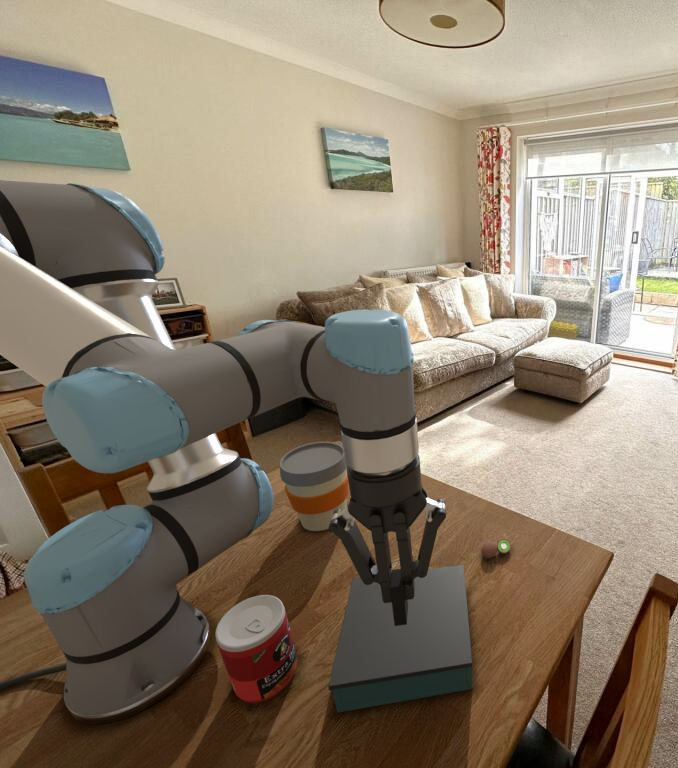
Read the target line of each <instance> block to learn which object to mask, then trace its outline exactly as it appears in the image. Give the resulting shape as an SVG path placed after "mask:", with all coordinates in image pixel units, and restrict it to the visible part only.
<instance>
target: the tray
mask: <svg viewBox="0 0 678 768" xmlns="http://www.w3.org/2000/svg"><path fill="white" fill-rule="evenodd" d="M469 690H473V666H472V667H468V668H462V669H456V670H450V671H444V672H438V673H432V674H426V675H419V676H413V677H407V678H401V679H395V680H389V681H383V682H377V683H371V684H365V685H359V686H353V687H347V688H341V689H335V690H331V691H332V695H333V699H334V703H335V709H336V712H337V713H343V712H344V713H345V712H349V711H355V710H360V709H367V708H371V707H377V706H383V705H390V704H396V703H400V702H405V701H407V702H408V701H413V700H417V699H424V698H430V697H434V696H435V697H436V696H441V695H447V694H452V693H458V692H463V691H464V692H465V691H469Z"/></svg>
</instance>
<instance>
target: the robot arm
mask: <svg viewBox="0 0 678 768" xmlns="http://www.w3.org/2000/svg"><path fill="white" fill-rule="evenodd" d="M164 250H165V249H164V246H163V242H162V239H161V236H160V235H159V233H158V231H157V228H156V227H155V226H154V224H153V223H152V221H151V219H150V218H149V216H148V215H147V214H146V213H145V212H144V210H142V208H140V207H139V206H138V204H137V203H135V202H134V201H133V200H132V199H130V198H127V197H126V196H125V195H123V194H122V193H120V192H118V191H115V190H113V189H111V188H105V187H94V186H87V185H84V184H78V183H71V182H70V183H69V182H68V183H66V184H64V183H49V182H48V183H47V182H34V181H33V182H32V181H21V180H19V181H17V180H2V179H0V356H1V357H3V358H4V359H5V360H7V361H9V362H10V363H11V364H13V365H15V367H17V368H18V369H20V370H21V371H23V372H24V373H26V374H27V375H28V376H30V377H31V378H33V379H34V380H35V381H37V382H39V383H40V384H41V385H43V386H44V387H45V388H44V390H43V393H42V399H41V404H42V410H43V413H44V416H45V419H46V422H47V424H48V425H49V428H50V429H51V431H52V433H53V435H54V437H55V438H56V440H57V441H58V442H59V444H60V445H61V446H62V447H63V448H64V449H66V450H67V452H68V453H69V454H70V456H71V458H72V459H73V460H74V461H75V462H76V463H78V464H79V465H80V466H81V467H83V468H85V469H87V470H89V471H91V472H95V473H99V474H116V473H119V472H123V471H125V470H128V469H131V468H134V467H135V466H137V467H138V466H139V465H142V464H145V463H148V465H149V467H150V469H151V470H152V473H153V476H152V478H151V479H150V481H149V483H148V485H147V487H146V491H147V493H148V495H149V496H150V499H151V501H152V502H151V503H148V504H147V505H145V506H144V507H142V506H140V505H137V504H121V505H114V506H111V507H110V508H109V509H107V510H105V509H99V510H97V511H94V512H92V513H90V514H89V513H88V514H86V515H85V516H83V517H81V518H78V519H76V520H75V521H73V522H71V523H69V524H68V525H65V526H64V527H63V528H61V529H59V530H58V531H57V532H55V533H54V534H53V535H51V536H49V538H47V539H46V540H45V541H44V542H43V543H42V544H40V546H39V547H38V548H37V549H36V550H35V551H34V554H33V555H32V556H31V558H30V559H28V561H27V564H26V565H25V568H24V573H23V579H24V583H25V586H26V590H27V592H28V594H29V597H30V603H31V605H32V607H33V608H34V609H35V610H36V611H37V612H38V613H40V615H41V617H42V619H43V620H44V622H45V623H46V625H47V627H48V629H49V631H50V632H51V634H52V636H53V638H54V639H55V641H56V643H57V645H58V647H59V648H60V650H61V652H62V653H63V655H64V657H65V659H66V661H65V663H62V664H58V665H55V666H50V667H46V668H43V669H39V670H35V671H31V672H29V673H25V674H22V675H19V676H16V677H12V678H9V679H6V680H3V681H0V690H1V689H4V688H8V687H10V686H13V685H17V684H20V683H23V682H26V681H30V680H33V679H37V678H40V677H44V676H49V675H52V674H56V673H60V672H64V671H66V678H65V679H66V680H65V683H64V687H63V688H64V689H63V701H64V704H65V706H66V708H67V710H68V711H69V713H70V715H71V716H72V717H73V718H74V719H75V720H76V721H78V722H80V723H83V724H87V725H103V724H109V723H113V722H118V721H120V720H124V719H127V718H129V717H131V716H134V715H136V714H138V713H140V712H142V711H144V710H146V709H148V708H150V707H151V706H153V705H155V704H156V703H158V702H160V701H161V700H162V699H164V698H165V697H166V696H168V695H169V694H171V693H172V692H173V691H175V690H176V689H177V688H178V687H179V686H180V685H181V684H183V682H184V681H185V680H187V679H188V677H189V676H190V675H191V674H193V672H194V671H195V670H196V669H197V667H198V666H199V664H201V662H202V660H203V658H204V657H205V655H206V653H207V651H208V648H209V647H210V643H211V635H212V633H211V628H210V624H209V621H208V619H207V617H206V615H205V614H204V613H203V612H202V611H201V610H199V609H198V608H197V607H195V606H194V605H192V604H191V602H189V601H188V600H186V599H185V598H184V597H182V596H181V595H180V592H179V590H178V587H177V584H179V583H180V582H182V581H183V580H185V579H186V578H188V577H189V576H191V575H192V574H194V573H195V572H197V571H198V570H199V569H201V568H202V567H204V566H205V565H206V564H208V563H210V562H211V561H213V560H214V559H215V558H217V557H219V556H220V555H222V554H223V553H224V552H226V551H227V550H229V549H230V548H232V547H233V546H235V545H236V544H238V543H239V542H241V541H243V540H245V539H247V538H248V537H250V536H251V535H252V534H253V533H254V532H255V531H256V530H257V529H258V528H260V527H261V526H262V525H263V524H265V523H266V522H267V521H268V520H269V518H270V517H271V514H272V512H273V509H274V504H275V499H274V491H273V487H272V483H271V482H270V479H269V477H268V475H267V474H266V472H265V471H264V470H261V467H260V465H259V464H258V463H256V462H255V461H254V460H252V459H249V458H245V457H244V458H241V457H240V454H239V453H238V452H237V451H235V450H231V449H228V448H225V447H223V446H222V444H221V442H220V440H219V437H218V435H217V433H219V432H222V431H223V430H226V429H229V428H230V427H233V426H235V425H237V424H240V423H241V422H243V421H246V420H248V419H252V418H254V417H256V416H259V415H261V414H263V413H266V412H268V411H270V410H273V409H276V408H278V407H280V406H282V405H284V404H286V403H289V402H291V401H293V400H296V399H299V398H308V399H313V400H318V401H323V402H327V403H334V404H335V406H336V410H337V414H338V415H337V416H338V424H339V430H340V434H341V441H342V442H341V443H342V446H343V450H344V458H345V462H346V464H347V476H348V482H349V494H350V495H349V496H350V498H349V503H348V505H347V507H346V508H345V509H343V510H342V509H336V510H335V511H334V513H333V516H332V518H331V521H330V524H329V529H328V530H329V531H330V533H333V534H334V535H335V536H336V537H337V538H338V539H339V540H340V541H341V543H342V545H343V547H344V548H345V550H346V553H347V554H348V556H349V558H350V560H351V562H352V564H353V566H354V568H355V570H356V572H357V573H358V577H360V578H361V579H362V581H363V583H364V584H366V585H370V584H372V583H373V582H376V583H379V584H380V586H381V593H382V600H383V602H384V603H391V602H392V609H393V617H394V625H395V626H399V625H406V624H407V615H408V600H411V599H413V598H414V593H415V584H414V579H415V578H416V577H419V578H424V577H425V576H426V575H427V572H428V569H430V568H429V567H430V563H431V559H432V555H433V551H434V548H435V542H436V539H437V534H438V531H439V528H440V527H441V526H442V524H443V522H444V521H445V520H446V518H447V505H446V504H447V503H446V500H445V499H444V498H439V499H437V500H434V499H431V498H429V497H428V493H427V491H426V490H425V489H424V487H423V485H422V471H421V460H420V459H421V458H420V455H419V452H420V446H419V433H418V421H417V410H416V409H415V383H414V352H413V351H412V345H411V338H410V331H409V325H408V322H407V321H406V319H405V317H404V316H402V315H401V314H400V313H398V312H395V311H392V310H386V309H364V308H363V309H353V310H346V311H340V312H337V313H334V314H331V315H330V316H329V317H328V318H327V319H326V320H325V322H324V326H321V325H313V324H307V323H301V322H298V321H294V320H292V321H291V320H289V319H277V320H274V319H273V320H272V319H261V320H257V321H254V322H252V323H249V324H248V325H247V326H246V327H244V328H243V330H241V331H240V332H239V333H237V335H236V336H235V335H234V336H231V337H227V338H223V339H220V340H214V341H209V342H206V343H201V344H197V345H193V346H189V347H184V348H179V349H176V346H175V345H174V343H173V340H172V338H171V336H170V333H169V332H168V330H167V328H166V326H165V324H164V321H163V319H162V317H161V315H160V313H159V311H158V309H157V307H156V305H155V302H154V300H153V294H154V293H155V291H156V290H157V288H158V286H159V285H160V282H159V280H158V278H157V276H156V275H157V274H158V273H161V271H162V270H163V268H164V266H165V261H166V258H165V257H166V256H165V255H164V254H163V251H164ZM423 511H424V518H425V524H424V527H423V532H422V533H423V534H422V538H421V543H420V547H419V551H418V555H417V559H416V560H413V549H412V538H411V527H412V525H413V524H414V523H415V522H416V520H417V519H418V517H419V516H420V515H421V513H422V512H423ZM356 521H357V522H358V523H360V524H361V525H362V526H363V527H365V528H366V529H367V530H368V531H370V533H371V540H372V544H373V547H374V554H375V559H374V556H373V554H372V553H371V550H370V549H369V546H368V544H367V542H366V540H365V538H364V536H363V534H362V532H361V530H360V528H359V526H358V524H357V522H356ZM390 532H391V533H395V540H396V543H397V550H398V558H399V567H400V568H395V569H392V567H393V561H392V557H391V548H390V539H389V533H390Z"/></svg>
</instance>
